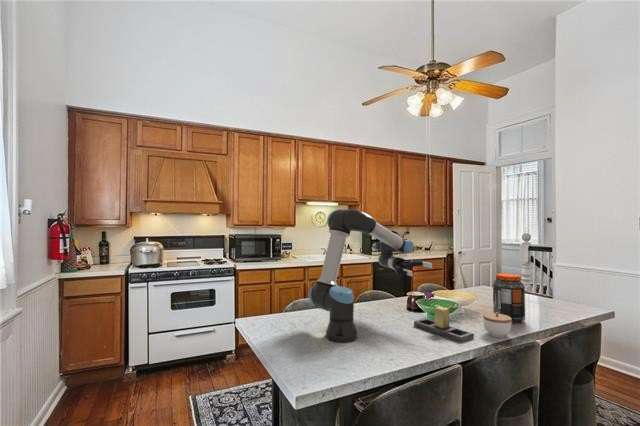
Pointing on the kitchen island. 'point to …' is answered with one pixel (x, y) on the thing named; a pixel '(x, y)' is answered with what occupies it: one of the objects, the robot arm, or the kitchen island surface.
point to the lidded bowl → (497, 324)
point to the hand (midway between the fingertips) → (421, 269)
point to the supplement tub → (509, 296)
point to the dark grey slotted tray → (444, 331)
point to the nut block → (442, 318)
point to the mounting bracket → (428, 294)
